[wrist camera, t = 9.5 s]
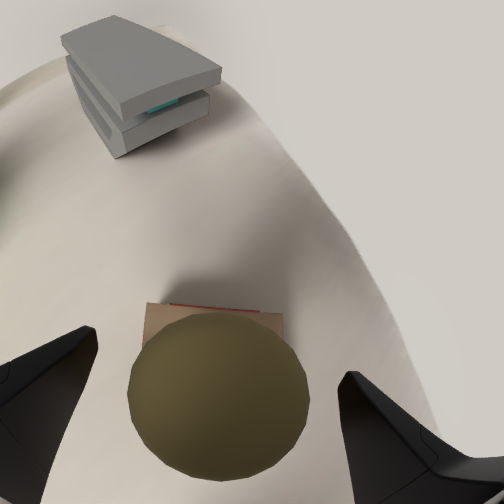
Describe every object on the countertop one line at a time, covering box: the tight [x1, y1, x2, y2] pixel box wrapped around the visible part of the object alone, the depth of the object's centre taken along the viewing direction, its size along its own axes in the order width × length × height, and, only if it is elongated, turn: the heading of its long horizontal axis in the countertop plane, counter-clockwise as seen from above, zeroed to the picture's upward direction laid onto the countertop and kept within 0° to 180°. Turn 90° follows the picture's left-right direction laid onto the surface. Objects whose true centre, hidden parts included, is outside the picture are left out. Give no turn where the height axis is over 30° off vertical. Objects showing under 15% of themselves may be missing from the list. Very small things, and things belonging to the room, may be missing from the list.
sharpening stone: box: [61, 15, 222, 159], centre depth 22 cm, size 25×8×11 cm, turn 41°
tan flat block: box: [139, 302, 283, 436], centre depth 17 cm, size 9×9×3 cm
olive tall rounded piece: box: [127, 312, 310, 482], centre depth 10 cm, size 6×6×11 cm
